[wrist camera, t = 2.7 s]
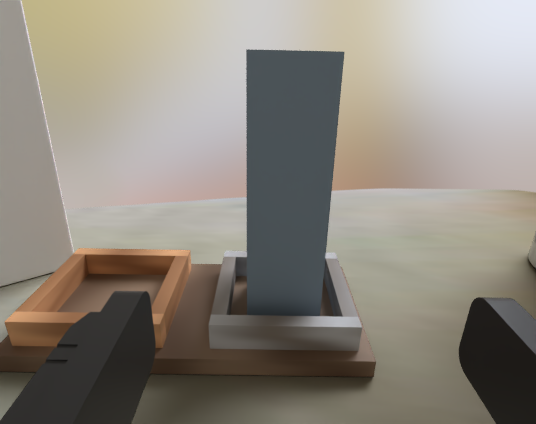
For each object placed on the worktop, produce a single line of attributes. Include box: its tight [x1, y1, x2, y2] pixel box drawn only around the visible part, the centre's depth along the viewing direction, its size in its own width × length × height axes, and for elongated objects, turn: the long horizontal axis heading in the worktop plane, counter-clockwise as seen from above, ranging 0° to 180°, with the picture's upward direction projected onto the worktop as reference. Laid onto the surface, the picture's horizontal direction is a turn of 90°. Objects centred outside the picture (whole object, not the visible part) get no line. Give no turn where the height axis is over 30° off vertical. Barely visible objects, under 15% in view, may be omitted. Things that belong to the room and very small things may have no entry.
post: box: [247, 50, 344, 316], centre depth 19 cm, size 4×4×14 cm
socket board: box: [0, 248, 376, 377], centre depth 22 cm, size 19×9×2 cm, turn 90°
